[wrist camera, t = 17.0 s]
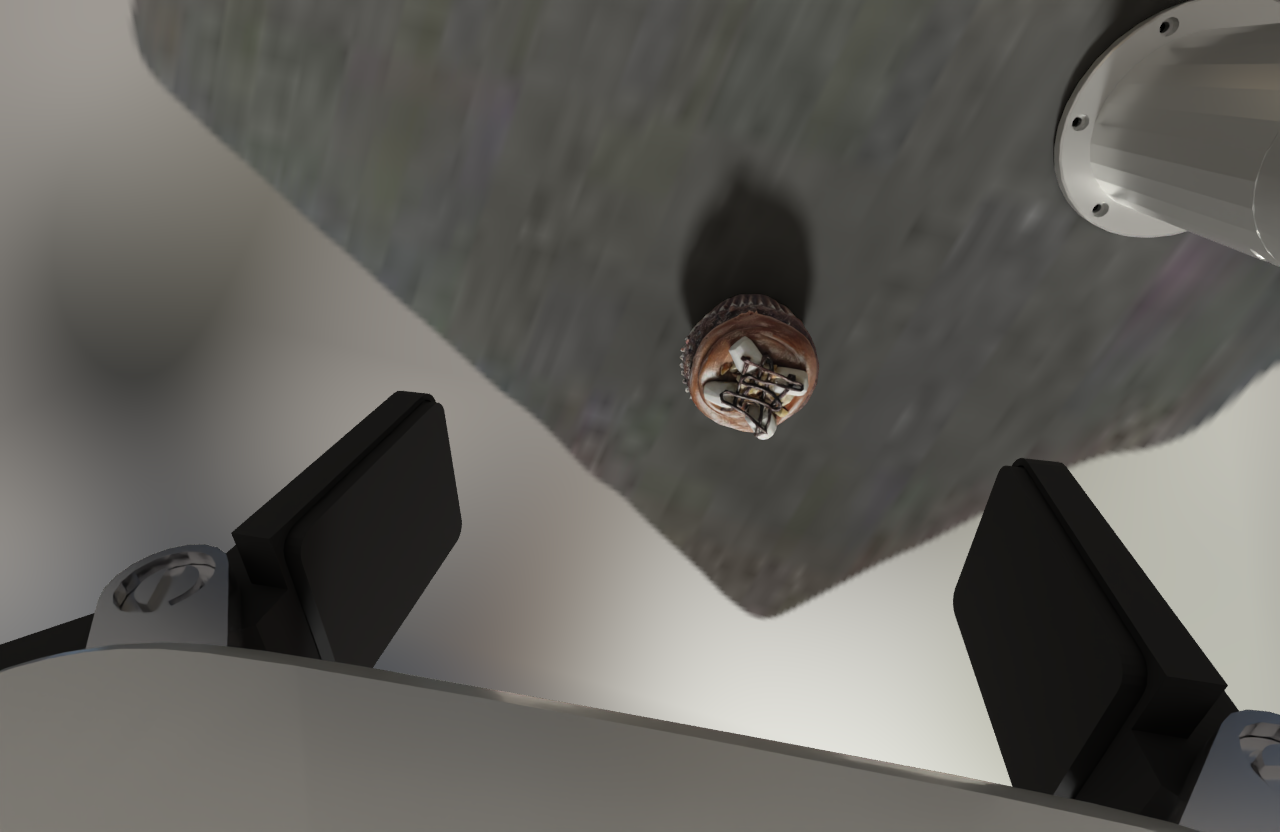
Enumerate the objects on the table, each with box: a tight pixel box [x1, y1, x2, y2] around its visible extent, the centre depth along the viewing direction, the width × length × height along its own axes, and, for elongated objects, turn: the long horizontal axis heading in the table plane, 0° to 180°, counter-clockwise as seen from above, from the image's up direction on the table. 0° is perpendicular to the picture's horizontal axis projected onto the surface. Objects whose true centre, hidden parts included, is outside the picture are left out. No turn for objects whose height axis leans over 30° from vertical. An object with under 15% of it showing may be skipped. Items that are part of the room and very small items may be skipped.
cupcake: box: [679, 294, 819, 440], centre depth 43 cm, size 10×10×10 cm
